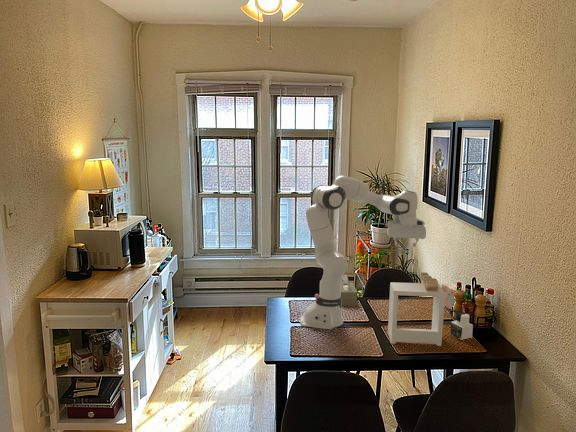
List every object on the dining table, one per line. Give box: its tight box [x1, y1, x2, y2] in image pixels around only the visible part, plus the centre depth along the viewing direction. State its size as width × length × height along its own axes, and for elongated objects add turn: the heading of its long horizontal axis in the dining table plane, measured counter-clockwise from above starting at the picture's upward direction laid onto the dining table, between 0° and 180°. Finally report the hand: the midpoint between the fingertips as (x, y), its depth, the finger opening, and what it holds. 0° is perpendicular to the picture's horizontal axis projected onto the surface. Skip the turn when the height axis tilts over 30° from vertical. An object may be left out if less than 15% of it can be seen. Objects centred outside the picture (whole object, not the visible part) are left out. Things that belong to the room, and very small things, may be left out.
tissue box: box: [341, 273, 358, 306], centre depth 267 cm, size 19×10×16 cm, turn 0°
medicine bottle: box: [450, 311, 474, 341], centre depth 219 cm, size 7×7×12 cm
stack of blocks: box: [431, 282, 465, 310], centre depth 262 cm, size 21×6×12 cm, turn 16°
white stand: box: [387, 281, 445, 347], centre depth 215 cm, size 23×12×26 cm, turn 85°
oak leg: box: [420, 272, 439, 291], centre depth 217 cm, size 19×5×4 cm, turn 175°
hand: (405, 245), depth 244 cm, fingers open, 8 cm apart
